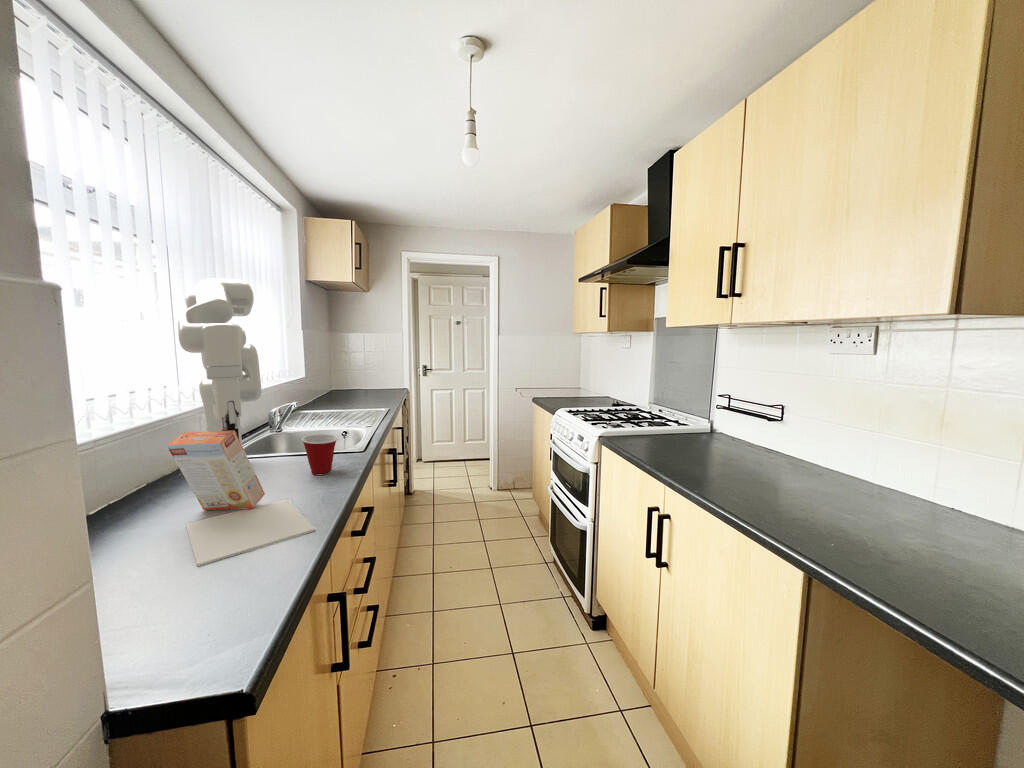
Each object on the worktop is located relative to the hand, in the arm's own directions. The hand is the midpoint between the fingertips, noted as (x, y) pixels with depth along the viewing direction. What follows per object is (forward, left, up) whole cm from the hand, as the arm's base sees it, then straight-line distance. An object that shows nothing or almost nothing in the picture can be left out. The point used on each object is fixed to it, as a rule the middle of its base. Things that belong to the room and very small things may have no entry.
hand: (231, 443), depth 107 cm
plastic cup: (-15, +26, -18) cm, 35 cm away
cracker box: (-2, 0, -16) cm, 16 cm away
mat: (+15, 0, -17) cm, 23 cm away
